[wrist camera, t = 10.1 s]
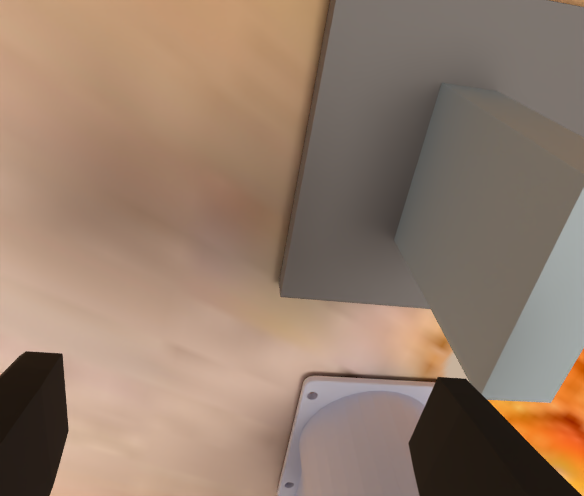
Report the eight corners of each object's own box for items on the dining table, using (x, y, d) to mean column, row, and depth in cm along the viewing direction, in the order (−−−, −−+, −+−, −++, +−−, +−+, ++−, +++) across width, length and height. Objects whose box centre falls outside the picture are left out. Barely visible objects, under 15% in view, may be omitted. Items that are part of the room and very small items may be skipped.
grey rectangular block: (442, 244, 19) (550, 402, 13) (394, 240, 19) (478, 399, 12) (497, 91, 16) (679, 188, 10) (441, 82, 16) (588, 176, 9)
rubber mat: (494, 301, 22) (504, 314, 22) (279, 282, 21) (280, 297, 20) (624, 15, 17) (645, 19, 16) (337, -40, 15) (343, -40, 14)
